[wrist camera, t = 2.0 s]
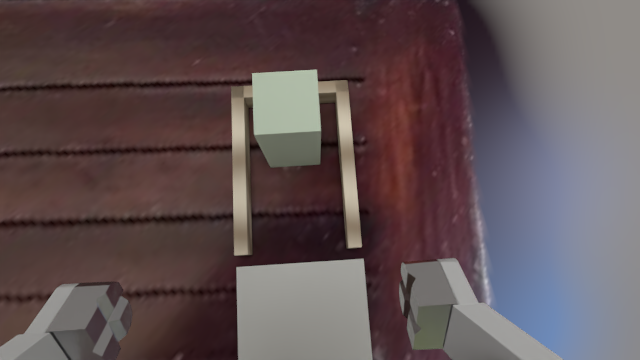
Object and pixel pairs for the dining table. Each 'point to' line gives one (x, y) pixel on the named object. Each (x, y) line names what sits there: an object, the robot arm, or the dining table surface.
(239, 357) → the mat
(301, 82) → the block
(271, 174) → the dining table surface
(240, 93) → the lane
